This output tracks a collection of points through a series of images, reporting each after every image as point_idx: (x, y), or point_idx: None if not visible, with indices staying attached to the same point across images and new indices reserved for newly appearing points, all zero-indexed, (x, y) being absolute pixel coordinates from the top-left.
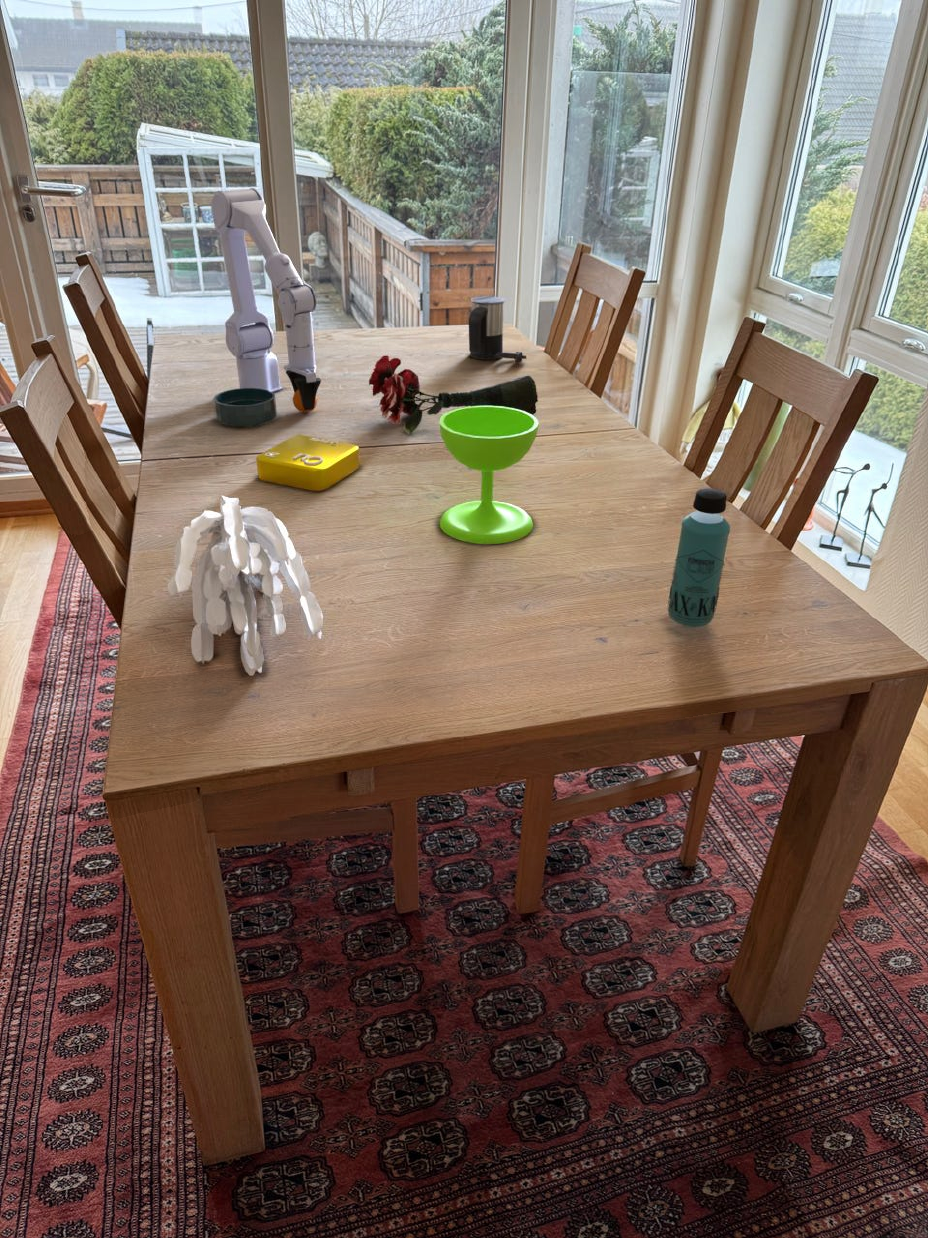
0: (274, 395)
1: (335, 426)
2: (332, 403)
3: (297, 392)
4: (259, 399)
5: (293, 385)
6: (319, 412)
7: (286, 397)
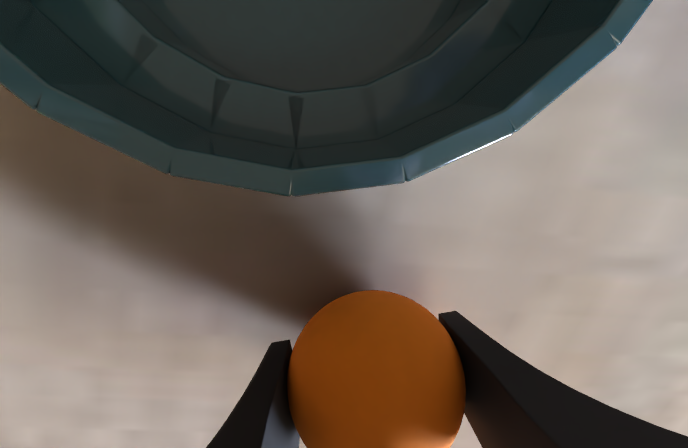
0: (269, 188)
1: (84, 437)
2: (456, 436)
3: (361, 395)
4: (511, 18)
5: (508, 394)
6: None
7: (667, 239)
